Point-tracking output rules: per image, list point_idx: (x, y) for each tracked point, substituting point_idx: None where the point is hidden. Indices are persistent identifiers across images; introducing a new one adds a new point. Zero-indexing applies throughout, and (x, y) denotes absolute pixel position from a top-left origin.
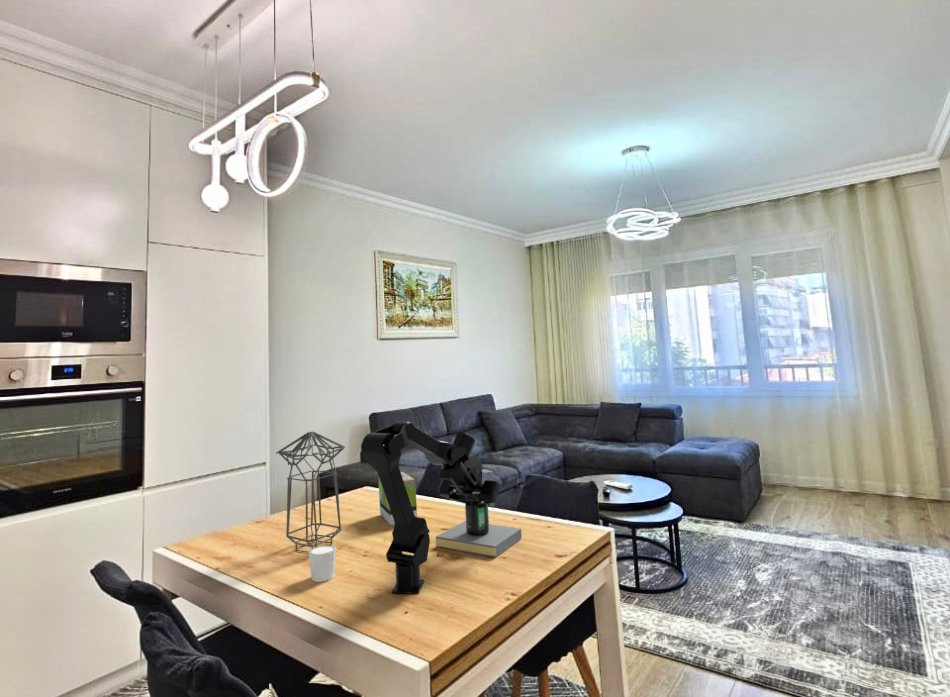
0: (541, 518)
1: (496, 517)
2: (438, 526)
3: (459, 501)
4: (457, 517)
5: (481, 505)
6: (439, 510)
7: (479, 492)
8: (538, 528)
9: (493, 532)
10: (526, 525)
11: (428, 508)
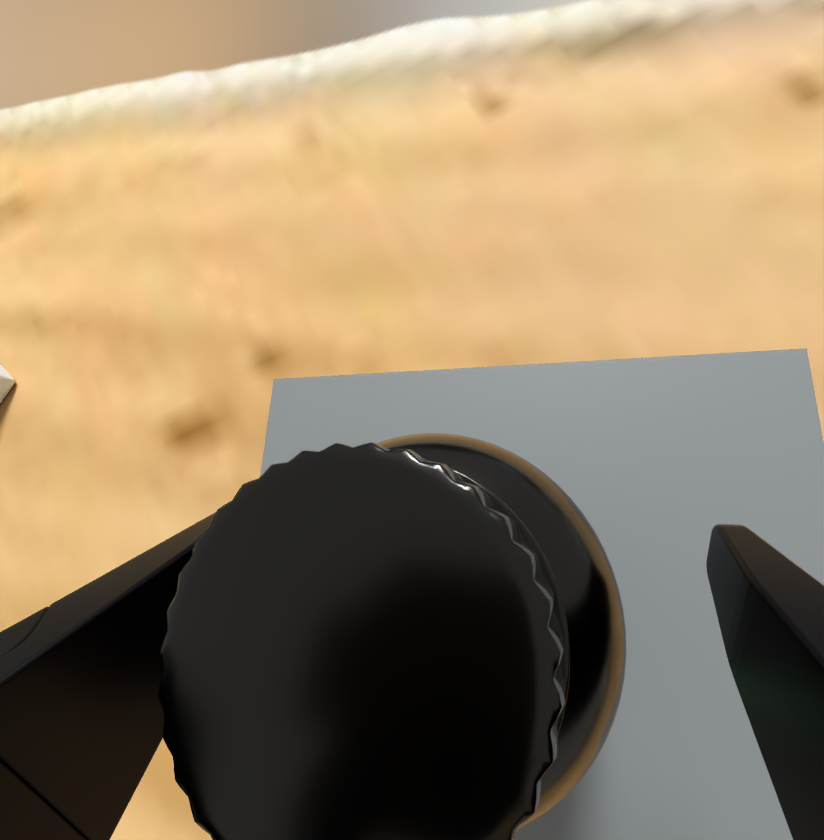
0: (650, 8)
1: (376, 139)
2: (141, 409)
3: (158, 731)
4: (181, 245)
5: (594, 760)
6: (68, 210)
7: (474, 725)
8: (751, 151)
9: (619, 538)
10: (630, 149)
11: (16, 214)
